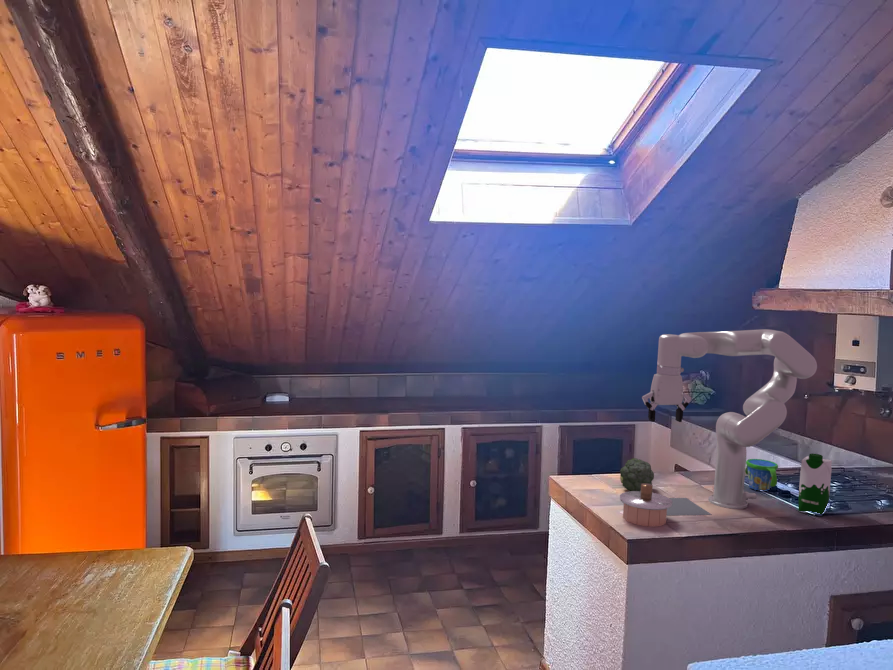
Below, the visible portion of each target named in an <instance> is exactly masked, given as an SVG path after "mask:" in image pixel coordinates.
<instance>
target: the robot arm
mask: <svg viewBox="0 0 893 670" xmlns="http://www.w3.org/2000/svg"><path fill="white" fill-rule="evenodd" d="M706 354H713V355H714V354H715V355H722V356H726V357H727V356H728V357H742V356H758V355H759V356H760V355H761V356H763V355H768V356H773V357H774V360H773V374H772V376H771V378H770V380H769V381H768V382H767V383H766V384H764V385H763V386H762V387H760V389H758V390H757V391H756V392H754V393H753V394H752V395H750V396H749V397H748V398H746V400H745V401H744V402H743V405H742V411H743V414H745V415H746V416H745V415H743V414H741V413H739V412H738V413H737V412H734V411H729V412H725V413H722V414H721V415H720V416H719V417H718V419H717V420H716V423H715V435H716V457H715V467H714V469H715V470H714V482H713V485H714V486H713V494H711V495H709V496H708V499H707V501H708V502H709V503H710V504H712V505H714V506H717V507H721V508H726V509H734V510H739V509H746V508H748V503H749V502H748V500H749V499H750V500H754V499H755V500H756V499H757V497H758V496H757V494H756V493H755V492H754V493H753V492H751V493H750V492H749V491H745V478H746V472H745V470H746V466H747V465H746V461H747V448H751V447H753V446H756V445H757V444H759V443H760V442H761V441H762V440H764V439H765V438H766V437H768V436H769V435H770V434H772V433H773V432H774V431H775V430H777V429H778V428H779V427H780V426H782V424H783V423H784V422H785V420H786V418H787V414H788V411H787V407H786V404H785V403H787V402H788V400H789V399H791V398H792V397H793V395H794V394H795V392H796V387H797V382H798V379H801V380H805V379H809V378H811V377H813V376H814V375H815V374H816V372H817V369H818V364H817V360H816V358H815V356H813V355H812V354H811V353H810V352H809V351H808V350H806V348H804V347H803V346H802V345H801V344H800V343H799V342H797V340H796V339H794V338H793V337H792V336H790V335H789V334H787V333H786V332H785V331H782V330H775V329H769V328H767V329H764V328H763V329H746V330H745V329H744V330H724V331H722V330H721V331H697V332H684V333H680V334H671V333H668V334H667V333H663V334H661V335H660V336H659V338H658V349H657V363H656V364H657V366H656V373H655V374H653V377H652V382H651V386H650V391H649V392H648V393H646V394H644V395H642V396H641V399H642V401H643V403H644V405H645V407H647V410H648V415H647V418H648V420H649V421H650V422H652V423H655V421H656V413H657V412H656V410H655V409H656V408H657V407H658V406H675V407H677V408H676V409H675V418H674V419H675V421H676V422H679V423H682V420H683V418H684V411H685V410H686V408H687V407H688V406H689V404H690V402H691V400H692V397H691V396H689V395H688V394H686V393H684V385H683V384H684V383H683V376H682V375H681V373H684V371H685V369H684V367H682V366H681V365H682V357H687V358H693V359H696V358H697V359H699V358H702V357H704V356H705V355H706ZM683 400H684V401H683Z"/></svg>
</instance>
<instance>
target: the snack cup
mask: <svg viewBox="0 0 893 670" xmlns="http://www.w3.org/2000/svg"><path fill="white" fill-rule="evenodd" d="M778 469H779V465H778V464H777V463H776V462H774V461H771V460H766V459H761V458H749V459H746V467H745V475H747V479H748V488H749V489H752V490H754V491H756V490H767V489H770V488H771V489H772V487H776V486H777V485H778V478H777V477H778V476H777V472H776V471H777V470H778Z"/></svg>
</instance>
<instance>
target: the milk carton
mask: <svg viewBox="0 0 893 670" xmlns="http://www.w3.org/2000/svg"><path fill="white" fill-rule="evenodd" d="M823 456H824V455H822V454H818V453H809V454H808V455H807V456H805V457H804V458H803V459H801V464H800V473H799V483H798V484H799V485H798V487H799V488H798V497H797V499H798V500H797V501H798V505H797V506H798V512H799V511H812V512H817V513H820V514H822V513H823V512H824V510H825V508H826V506H827V504H828V505H829V501H830V492H831V491H830V490H831V482H832V481H831V480H832V479H831V478H832V472H833V471H832V464H833V463H832V462H833V460H831V459H828V458H827V459H825V458H824V457H823ZM827 507H828V506H827Z"/></svg>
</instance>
